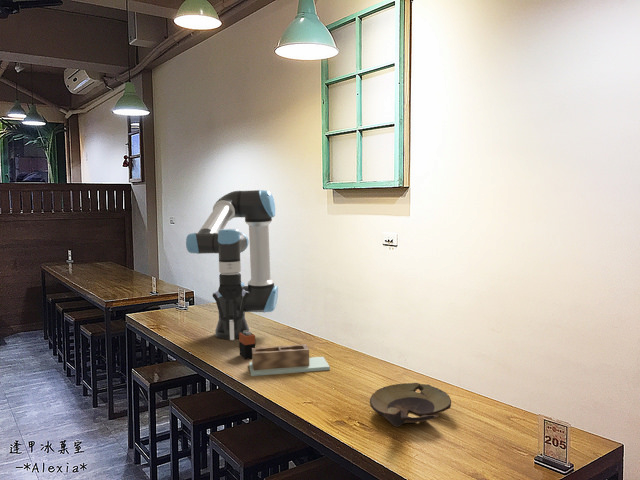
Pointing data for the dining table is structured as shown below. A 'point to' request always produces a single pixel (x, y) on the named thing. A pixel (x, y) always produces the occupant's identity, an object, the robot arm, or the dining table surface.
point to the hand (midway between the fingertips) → (232, 338)
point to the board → (294, 368)
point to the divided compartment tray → (280, 357)
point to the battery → (246, 344)
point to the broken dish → (409, 402)
